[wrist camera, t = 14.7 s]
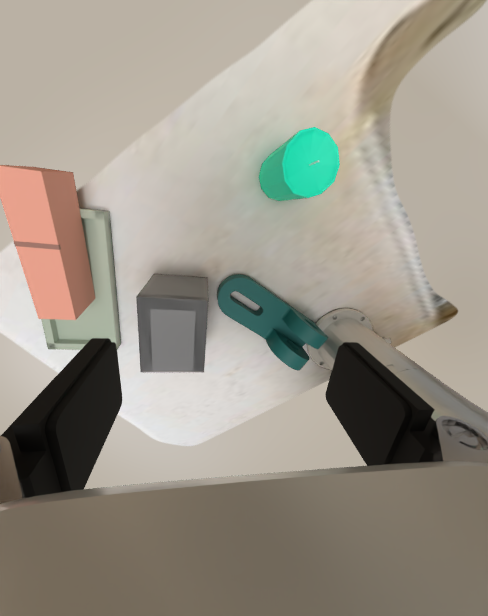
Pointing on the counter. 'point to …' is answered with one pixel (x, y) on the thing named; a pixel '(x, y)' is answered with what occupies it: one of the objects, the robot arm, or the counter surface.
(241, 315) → the bracket
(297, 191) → the candle
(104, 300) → the tray
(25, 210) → the terracotta pink bar
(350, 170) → the counter surface
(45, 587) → the robot arm
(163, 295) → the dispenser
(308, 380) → the counter surface
